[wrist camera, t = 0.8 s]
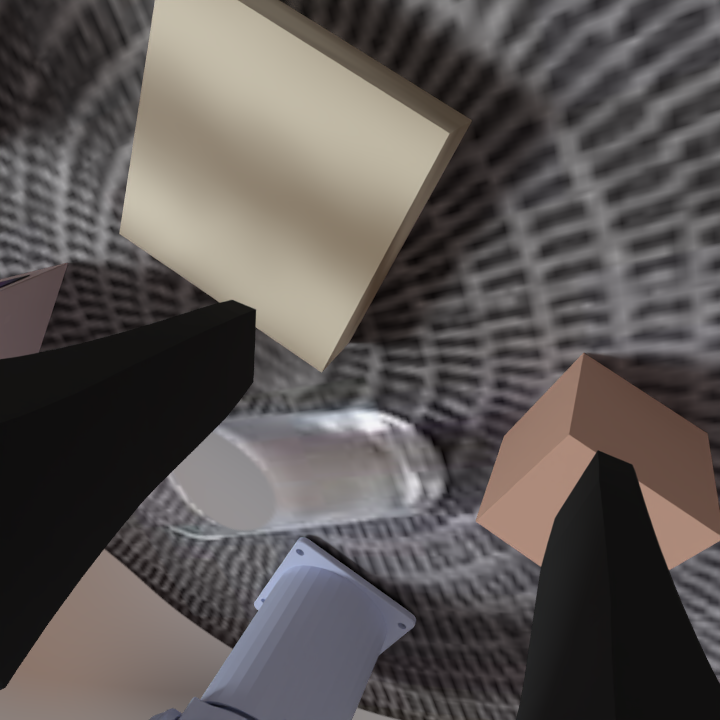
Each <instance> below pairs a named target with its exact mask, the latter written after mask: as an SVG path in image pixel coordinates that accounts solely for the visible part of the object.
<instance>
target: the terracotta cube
mask: <svg viewBox="0 0 720 720" xmlns="http://www.w3.org/2000/svg"><path fill="white" fill-rule="evenodd" d="M598 450H599V451H601V452H604V453H606V454H608V455H611V456H613V457H616V458H618V459H621V460H623V461H625V462H628V463H630V464H632V465H633V467H634V469H635V472H636V475H637V478H638V481H639V484H640V488H641V491H642V494H643V497H644V501H645V504H646V507H647V510H648V513H649V516H650V519H651V522H652V525H653V528H654V531H655V534H656V537H657V540H658V542H659V545H660V548H661V551H662V553H663V556H664V559H665V561H666V564H667V566H668V569H669V570H670V569H672V568H674V567H675V566H677V565H679V564H681V563H682V562H684V561H686V560H687V559H689V558H691V557H693V556H694V555H696V554H698V553H699V552H701V551H703V550H705V549H706V548H708V547H710V546H712V545H713V544H715V543H717V542H718V541H720V509H719V503H718V497H717V490H716V484H715V477H714V471H713V465H712V458H711V452H710V445H709V439H708V434H707V433H706V432H704V431H703V430H701V429H700V428H698V427H697V426H695V425H694V424H692V423H691V422H689V421H687V420H686V419H684V418H683V417H681V416H680V415H678V414H677V413H675V412H674V411H672V410H671V409H669V408H668V407H666V406H664V405H663V404H661V403H660V402H658V401H657V400H655V399H654V398H652V397H651V396H649V395H648V394H646V393H645V392H643V391H642V390H640V389H638V388H637V387H635V386H634V385H632V384H631V383H629V382H628V381H626V380H625V379H623V378H622V377H620V376H619V375H617V374H615V373H614V372H612V371H611V370H609V369H608V368H606V367H605V366H603V365H602V364H600V363H599V362H597V361H596V360H594V359H593V358H591V357H589V356H588V355H586V354H585V353H583V354H582V355H581V356H580V357H579V358H578V359H577V360H576V361H575V362H574V363H573V365H572V366H571V367H570V368H569V369H568V370H567V371H566V372H565V373H564V374H563V375H562V376H561V377H560V378H559V379H558V380H557V381H556V382H555V383H554V384H553V385H552V387H551V388H550V389H549V390H548V391H547V392H546V393H545V394H544V395H543V396H542V397H541V398H540V399H539V400H538V401H537V402H536V403H535V404H534V405H533V406H532V408H531V409H530V410H529V411H528V412H527V413H526V414H525V415H524V416H523V417H522V418H521V419H520V420H519V421H518V422H517V423H516V424H515V425H514V426H513V427H512V428H511V430H510V431H509V432H508V433H507V434H506V435H505V436H504V438H503V441H502V444H501V447H500V450H499V453H498V456H497V459H496V462H495V465H494V468H493V471H492V474H491V477H490V480H489V483H488V486H487V489H486V492H485V495H484V498H483V501H482V503H481V506H480V509H479V512H478V515H477V518H476V522H477V523H479V524H480V525H482V526H483V527H485V528H486V529H487V530H489V531H490V532H492V533H493V534H495V535H496V536H497V537H499V538H500V539H502V540H503V541H505V542H506V543H508V544H509V545H510V546H512V547H513V548H515V549H516V550H518V551H519V552H520V553H522V554H523V555H525V556H526V557H528V558H529V559H531V560H532V561H533V562H535V563H536V564H538V565H539V566H541V565H542V561H543V558H544V554H545V550H546V547H547V543H548V540H549V536H550V533H551V529H552V526H553V523H554V519H555V517H556V515H557V514H558V512H559V510H560V509H561V507H562V506H563V504H564V503H565V501H566V499H567V498H568V496H569V495H570V493H571V492H572V490H573V488H574V487H575V485H576V484H577V482H578V480H579V479H580V477H581V476H582V474H583V473H584V471H585V469H586V468H587V466H588V465H589V463H590V462H591V460H592V458H593V457H594V455H595V454H596V452H597V451H598Z"/></svg>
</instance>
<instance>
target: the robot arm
mask: <svg viewBox="0 0 720 720" xmlns="http://www.w3.org/2000/svg"><path fill="white" fill-rule="evenodd" d="M255 328H256V309H254V308H251V307H249V306H247V305H244V304H242V303H239V302H237V301H234V300H228V301H224V302H221V303H217V304H214V305H210V306H207V307H204V308H200V309H197V310H194V311H191V312H188V313H185V314H182V315H178V316H175V317H172V318H169V319H166V320H163V321H159V322H156V323H153V324H150V325H146V326H143V327H140V328H137V329H133V330H130V331H126V332H122V333H119V334H115V335H111V336H108V337H104V338H100V339H97V340H93V341H89V342H85V343H82V344H77V345H73V346H69V347H64V348H60V349H55V350H50V351H45V352H40V353H34V354H29V355H24V356H18V357H12V358H5V359H0V690H1V689H4V688H5V687H6V686H7V684H8V683H9V681H10V680H11V678H12V677H13V675H14V674H15V672H16V670H17V669H18V667H19V666H20V665H21V663H22V662H23V660H24V659H25V657H26V656H27V654H28V653H29V651H30V650H31V648H32V647H33V645H34V644H35V642H36V641H37V640H38V638H39V636H40V635H41V634H42V632H43V630H44V629H45V628H46V626H47V625H48V623H49V622H50V621H51V619H52V618H53V616H54V615H55V614H56V612H57V611H58V610H59V608H60V607H61V605H62V604H63V603H64V601H65V600H66V599H67V597H68V596H69V594H70V593H71V592H72V590H73V589H74V588H75V586H76V585H77V584H78V582H79V581H80V579H81V578H82V577H83V575H84V574H85V573H86V572H87V570H88V569H89V568H90V566H91V565H92V564H93V563H94V561H95V560H96V559H97V557H98V556H99V555H100V553H101V552H102V551H103V550H104V548H105V547H106V546H107V545H108V543H109V542H110V541H111V539H112V538H113V537H114V536H115V534H116V533H117V532H118V531H119V530H120V528H121V527H122V526H123V525H124V524H125V522H126V521H127V520H128V519H129V517H130V516H131V515H132V514H133V513H134V511H135V510H136V509H137V508H138V507H139V505H140V504H141V503H142V502H143V501H144V500H145V499H146V498H147V496H148V495H149V494H150V493H151V492H152V491H153V490H154V489H155V488H156V487H157V486H158V485H159V484H160V483H161V482H162V481H163V480H164V479H165V478H166V477H167V476H168V475H169V474H170V473H171V472H172V471H173V470H174V469H175V468H176V467H177V466H178V465H179V464H180V463H181V462H182V461H183V460H184V459H185V458H186V457H187V456H188V455H189V454H190V453H191V452H192V451H193V450H194V449H195V448H196V447H197V446H198V445H199V444H200V443H201V442H202V441H203V440H204V439H205V438H206V437H207V436H208V435H209V434H210V433H211V432H212V431H213V430H214V429H215V428H216V427H217V426H218V425H219V424H220V423H221V422H222V421H223V420H224V419H225V418H226V417H227V416H228V415H229V413H230V412H231V411H232V410H233V408H234V407H235V406H236V405H237V403H238V402H239V401H240V399H241V398H242V397H243V395H244V394H245V393H246V391H247V390H248V388H249V387H250V386H251V384H252V383H253V376H254V352H255ZM254 606H255V608H256V609H257V610H258V612H257V614H256V615H255V617H254V618H253V620H252V621H251V623H250V624H249V626H248V627H247V629H246V630H245V632H244V633H243V635H242V636H241V638H240V640H239V641H238V643H237V644H236V646H235V647H234V649H233V650H232V652H231V653H230V655H229V656H228V658H227V659H226V661H225V663H224V664H223V666H222V667H221V669H220V670H219V672H218V673H217V675H216V676H215V678H214V679H213V681H212V682H211V684H210V685H209V687H208V688H207V690H206V691H205V693H204V694H203V696H202V698H201V699H199V698H197V697H193V699H192V700H191V701H190V703H189V704H188V706H187V707H186V709H185V710H184V712H183V713H180V712H179V711H177V710H176V709H174V708H171V709H169V710H167V711H165V712H163V713H160V714H157V715H154V716H153V717H151V718H150V719H149V720H352V718H353V716H354V713H355V711H356V709H357V706H358V704H359V702H360V699H361V697H362V694H363V692H364V690H365V687H366V685H367V682H368V680H369V678H370V675H371V673H372V670H373V668H374V666H375V663H376V661H377V658H378V656H379V655H380V654H381V653H382V652H384V651H385V650H386V649H387V648H389V647H390V646H391V645H392V644H394V643H395V642H396V641H397V640H398V639H400V638H401V637H402V636H403V635H405V634H406V633H407V632H408V631H410V630H411V629H412V628H413V627H414V626H415V623H416V618H415V616H414V615H413V614H412V613H411V612H409V611H408V610H406V609H405V608H404V607H402V606H401V605H400V604H398V603H397V602H395V601H394V600H393V599H391V598H390V597H388V596H387V595H386V594H384V593H383V592H381V591H380V590H379V589H377V588H376V587H375V586H373V585H372V584H370V583H369V582H368V581H366V580H365V579H363V578H362V577H361V576H359V575H358V574H356V573H355V572H354V571H352V570H351V569H350V568H348V567H347V566H345V565H344V564H343V563H341V562H340V561H338V560H337V559H336V558H334V557H333V556H331V555H330V554H329V553H327V552H326V551H324V550H323V549H322V548H320V547H319V546H318V545H316V544H315V543H313V542H312V541H311V540H309V539H307V538H305V537H300V538H299V539H298V540H297V542H296V543H295V545H294V546H293V548H292V549H291V551H290V552H289V553H288V555H287V556H286V558H285V559H284V561H283V562H282V563H281V565H280V566H279V568H278V569H277V571H276V572H275V574H274V575H273V576H272V578H271V579H270V581H269V582H268V584H267V585H266V586H265V588H264V589H263V591H262V592H261V594H260V595H259V597H258V598H257V599H256V601H255V602H254ZM516 720H720V683H719V682H718V680H717V678H716V676H715V674H714V672H713V670H712V668H711V666H710V664H709V662H708V660H707V658H706V656H705V653H704V651H703V649H702V647H701V645H700V643H699V641H698V638H697V636H696V634H695V632H694V629H693V627H692V625H691V623H690V620H689V618H688V616H687V614H686V611H685V609H684V607H683V604H682V602H681V599H680V597H679V595H678V592H677V590H676V587H675V585H674V582H673V580H672V577H671V574H670V572H669V569H668V566H667V564H666V561H665V559H664V556H663V553H662V551H661V548H660V545H659V542H658V540H657V537H656V534H655V531H654V528H653V525H652V522H651V519H650V516H649V513H648V510H647V507H646V504H645V501H644V497H643V494H642V491H641V488H640V484H639V481H638V478H637V475H636V472H635V469H634V467H633V465H632V464H630V463H628V462H625V461H623V460H621V459H618V458H616V457H613V456H611V455H608V454H606V453H604V452H601V451H599V450H598V451H597V452H596V454H595V455H594V457H593V458H592V460H591V462H590V463H589V465H588V466H587V468H586V469H585V471H584V473H583V474H582V476H581V477H580V479H579V480H578V482H577V484H576V485H575V487H574V488H573V490H572V492H571V493H570V495H569V496H568V498H567V499H566V501H565V503H564V504H563V506H562V507H561V509H560V510H559V512H558V514H557V515H556V517H555V519H554V523H553V526H552V529H551V533H550V536H549V540H548V543H547V547H546V550H545V554H544V558H543V561H542V565H541V571H540V577H539V584H538V590H537V597H536V603H535V610H534V617H533V624H532V631H531V638H530V644H529V651H528V658H527V665H526V672H525V679H524V685H523V690H522V695H521V700H520V705H519V710H518V714H517V718H516Z"/></svg>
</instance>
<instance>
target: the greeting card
mask: <svg viewBox="0 0 720 720" xmlns="http://www.w3.org/2000/svg"><path fill="white" fill-rule="evenodd" d="M67 265H68V263H65V264H60V265H56V266H52V267H48V268H44V269H40V270H36V271H32V272H28V273H24V274H20V275H16V276H12V277H8V278H4V279H0V359H5V358H12V357H18V356H24V355H29V354H34V353H39V350H40V347H41V344H42V341H43V338H44V335H45V332H46V329H47V326H48V323H49V320H50V317H51V314H52V311H53V308H54V305H55V302H56V299H57V296H58V292H59V289H60V286H61V283H62V280H63V277H64V274H65V271H66V268H67Z"/></svg>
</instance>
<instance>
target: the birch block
mask: <svg viewBox="0 0 720 720" xmlns="http://www.w3.org/2000/svg"><path fill="white" fill-rule="evenodd" d="M471 122H472V120H471V119H469V118H467V117H466V116H464V115H463V114H461V113H459V112H458V111H456V110H454V109H453V108H451V107H450V106H448V105H446V104H445V103H443V102H442V101H440V100H438V99H437V98H435V97H434V96H432V95H430V94H429V93H427V92H426V91H424V90H422V89H421V88H419V87H418V86H416V85H414V84H413V83H411V82H410V81H408V80H406V79H405V78H403V77H402V76H400V75H398V74H397V73H395V72H394V71H392V70H390V69H389V68H387V67H386V66H384V65H382V64H381V63H379V62H378V61H376V60H374V59H373V58H371V57H370V56H368V55H366V54H365V53H363V52H362V51H360V50H358V49H357V48H355V47H354V46H352V45H350V44H349V43H347V42H345V41H344V40H342V39H341V38H339V37H337V36H336V35H334V34H333V33H331V32H329V31H328V30H326V29H325V28H323V27H321V26H320V25H318V24H317V23H315V22H313V21H312V20H310V19H309V18H307V17H305V16H304V15H302V14H301V13H299V12H297V11H296V10H294V9H293V8H291V7H289V6H288V5H286V4H285V3H283V2H281V1H280V0H155V4H154V11H153V17H152V24H151V30H150V37H149V43H148V50H147V57H146V63H145V70H144V76H143V83H142V89H141V96H140V103H139V109H138V116H137V122H136V129H135V135H134V142H133V149H132V155H131V162H130V168H129V175H128V181H127V188H126V195H125V201H124V208H123V214H122V221H121V227H120V234H121V235H122V236H124V237H125V238H126V239H128V240H129V241H131V242H132V243H134V244H135V245H137V246H138V247H140V248H141V249H143V250H144V251H145V252H147V253H148V254H150V255H151V256H153V257H154V258H156V259H157V260H159V261H160V262H161V263H163V264H164V265H166V266H167V267H169V268H170V269H172V270H173V271H175V272H176V273H177V274H179V275H180V276H182V277H183V278H185V279H186V280H188V281H189V282H191V283H192V284H194V285H195V286H196V287H198V288H199V289H201V290H202V291H204V292H205V293H207V294H208V295H210V296H211V297H212V298H214V299H215V300H217V301H218V302H220V303H221V302H224V301H228V300H234V301H237V302H239V303H242V304H244V305H247V306H249V307H251V308H254V309H256V328H258V329H259V330H261V331H262V332H263V333H265V334H266V335H268V336H269V337H271V338H272V339H274V340H275V341H277V342H278V343H280V344H281V345H282V346H284V347H285V348H287V349H288V350H290V351H291V352H293V353H294V354H296V355H297V356H298V357H300V358H301V359H303V360H304V361H306V362H307V363H309V364H310V365H312V366H313V367H315V368H316V369H317V370H319V371H320V372H323V370H324V369H325V368H326V367H327V366H328V365H329V364H330V363H331V362H332V361H333V360H334V358H335V357H336V356H337V355H338V354H339V353H340V352H341V351H342V350H343V349H344V348H345V346H346V345H347V344H348V343H349V342H350V340H351V338H352V336H353V335H354V333H355V331H356V329H357V327H358V326H359V324H360V322H361V320H362V318H363V317H364V315H365V313H366V311H367V309H368V308H369V306H370V304H371V302H372V300H373V299H374V297H375V295H376V293H377V291H378V290H379V288H380V286H381V284H382V282H383V281H384V279H385V277H386V275H387V273H388V272H389V270H390V268H391V266H392V264H393V262H394V261H395V259H396V257H397V255H398V253H399V252H400V250H401V248H402V246H403V244H404V243H405V241H406V239H407V237H408V235H409V234H410V232H411V230H412V228H413V226H414V225H415V223H416V221H417V219H418V217H419V216H420V214H421V212H422V210H423V208H424V207H425V205H426V203H427V201H428V199H429V198H430V196H431V194H432V192H433V190H434V189H435V187H436V185H437V183H438V181H439V180H440V178H441V176H442V174H443V172H444V171H445V169H446V167H447V165H448V163H449V161H450V160H451V158H452V156H453V154H454V152H455V151H456V149H457V147H458V145H459V143H460V142H461V140H462V138H463V136H464V134H465V133H466V131H467V129H468V127H469V125H470V124H471Z"/></svg>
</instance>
